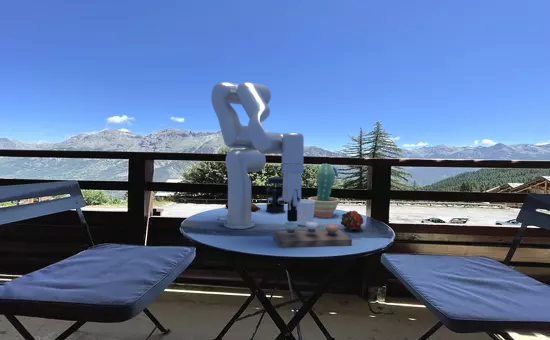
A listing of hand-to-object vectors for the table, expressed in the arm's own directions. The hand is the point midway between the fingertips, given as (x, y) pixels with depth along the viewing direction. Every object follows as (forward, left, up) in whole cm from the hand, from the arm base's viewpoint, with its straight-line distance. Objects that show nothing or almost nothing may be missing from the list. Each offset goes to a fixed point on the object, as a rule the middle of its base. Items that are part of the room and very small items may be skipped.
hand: (292, 220), depth 114 cm
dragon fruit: (+28, +14, -8) cm, 32 cm away
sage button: (0, 0, -4) cm, 4 cm away
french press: (+2, +50, -8) cm, 50 cm away
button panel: (+7, 0, -7) cm, 10 cm away
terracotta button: (+15, 0, -5) cm, 16 cm away
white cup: (+11, +24, -8) cm, 27 cm away
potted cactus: (+24, +40, -8) cm, 47 cm away
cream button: (+7, 0, -4) cm, 8 cm away
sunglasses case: (-14, +58, -8) cm, 60 cm away
